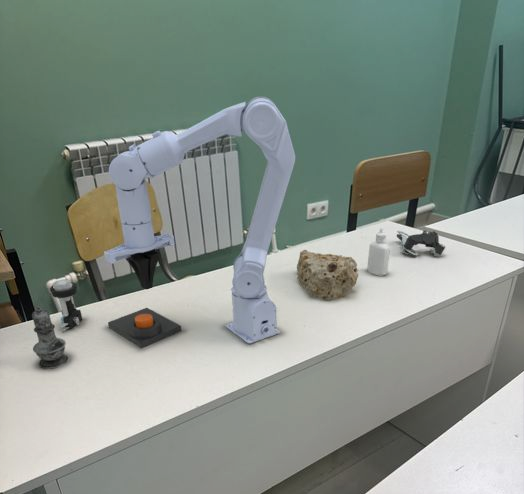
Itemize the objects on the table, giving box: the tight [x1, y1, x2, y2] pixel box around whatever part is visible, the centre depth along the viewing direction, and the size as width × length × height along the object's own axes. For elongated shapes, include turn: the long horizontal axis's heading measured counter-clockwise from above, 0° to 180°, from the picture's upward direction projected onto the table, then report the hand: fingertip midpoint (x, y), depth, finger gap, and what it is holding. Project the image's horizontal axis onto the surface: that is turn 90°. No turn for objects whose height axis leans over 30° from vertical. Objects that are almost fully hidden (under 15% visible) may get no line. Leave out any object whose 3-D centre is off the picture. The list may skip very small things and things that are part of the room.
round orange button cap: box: [135, 314, 153, 328], centre depth 99 cm, size 4×4×2 cm
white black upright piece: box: [49, 278, 83, 332], centre depth 103 cm, size 7×5×10 cm
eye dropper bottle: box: [366, 228, 391, 277], centre depth 126 cm, size 4×6×12 cm
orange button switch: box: [107, 307, 182, 349], centre depth 103 cm, size 13×10×3 cm
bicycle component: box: [396, 230, 446, 257], centre depth 142 cm, size 12×7×15 cm
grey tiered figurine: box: [31, 305, 69, 370], centre depth 90 cm, size 6×6×12 cm
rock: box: [296, 249, 359, 301], centre depth 121 cm, size 21×14×10 cm
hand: (147, 287), depth 97 cm, fingers closed
